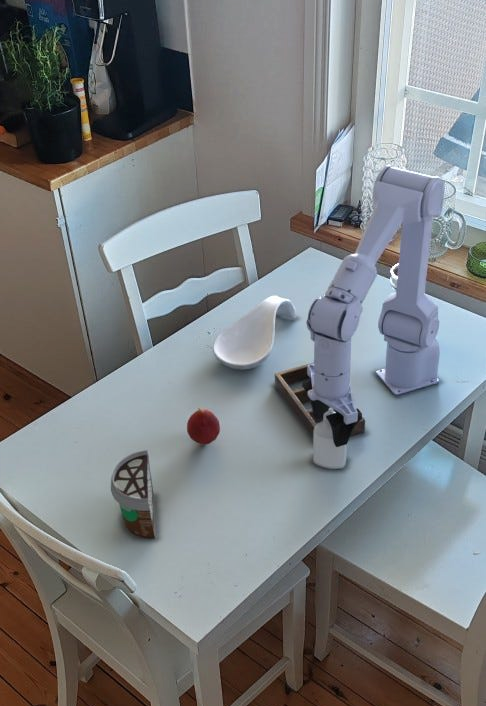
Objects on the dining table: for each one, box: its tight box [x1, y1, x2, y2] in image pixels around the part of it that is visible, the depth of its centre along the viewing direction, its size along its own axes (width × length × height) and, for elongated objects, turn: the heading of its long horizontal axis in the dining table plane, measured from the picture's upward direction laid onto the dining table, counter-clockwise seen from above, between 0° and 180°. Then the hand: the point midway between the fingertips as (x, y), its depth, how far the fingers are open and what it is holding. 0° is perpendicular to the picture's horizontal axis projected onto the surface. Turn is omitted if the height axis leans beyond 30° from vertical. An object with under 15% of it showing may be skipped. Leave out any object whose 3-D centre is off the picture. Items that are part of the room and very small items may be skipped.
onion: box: [186, 407, 221, 445], centre depth 163 cm, size 6×6×8 cm
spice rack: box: [274, 362, 366, 439], centre depth 170 cm, size 9×19×3 cm, turn 22°
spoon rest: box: [212, 295, 298, 370], centre depth 184 cm, size 24×12×7 cm, turn 150°
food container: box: [110, 449, 156, 540], centre depth 149 cm, size 12×6×10 cm, turn 5°
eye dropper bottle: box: [312, 408, 348, 470], centre depth 156 cm, size 4×6×12 cm
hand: (330, 430), depth 155 cm, fingers open, 7 cm apart
